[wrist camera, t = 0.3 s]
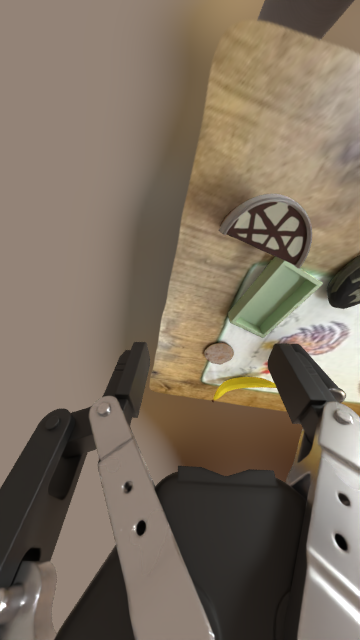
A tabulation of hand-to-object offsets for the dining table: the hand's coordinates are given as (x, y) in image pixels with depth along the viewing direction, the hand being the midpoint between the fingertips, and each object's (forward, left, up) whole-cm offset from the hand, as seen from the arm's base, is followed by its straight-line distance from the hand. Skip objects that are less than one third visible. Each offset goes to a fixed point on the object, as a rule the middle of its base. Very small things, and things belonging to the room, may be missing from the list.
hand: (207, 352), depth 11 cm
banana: (+26, +31, -26) cm, 48 cm away
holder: (+1, +18, -26) cm, 31 cm away
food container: (-9, +6, -26) cm, 28 cm away
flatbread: (+20, +19, -26) cm, 38 cm away
